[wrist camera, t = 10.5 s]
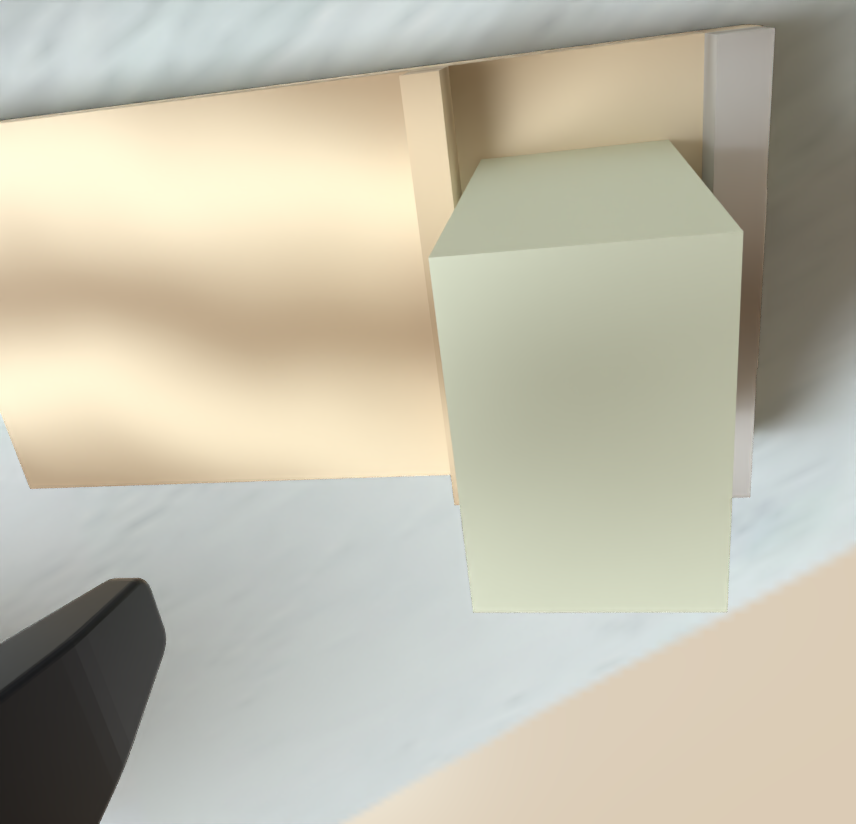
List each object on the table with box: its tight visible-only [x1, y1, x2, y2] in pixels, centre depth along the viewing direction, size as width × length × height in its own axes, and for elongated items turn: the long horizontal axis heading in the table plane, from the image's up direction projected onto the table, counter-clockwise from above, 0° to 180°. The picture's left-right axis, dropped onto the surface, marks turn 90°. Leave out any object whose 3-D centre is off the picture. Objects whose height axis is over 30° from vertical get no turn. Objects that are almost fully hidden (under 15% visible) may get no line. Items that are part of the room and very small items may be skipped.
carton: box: [428, 140, 743, 613], centre depth 15 cm, size 4×6×8 cm, turn 7°
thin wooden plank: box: [0, 24, 775, 505], centre depth 20 cm, size 10×20×3 cm, turn 97°
